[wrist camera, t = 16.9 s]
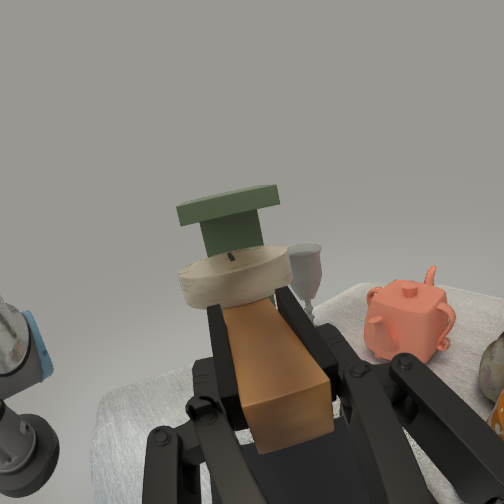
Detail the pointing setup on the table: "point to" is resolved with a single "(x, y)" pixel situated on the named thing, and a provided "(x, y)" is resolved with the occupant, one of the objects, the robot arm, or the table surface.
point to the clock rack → (230, 218)
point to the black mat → (310, 471)
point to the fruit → (493, 370)
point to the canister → (496, 420)
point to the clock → (263, 345)
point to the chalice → (305, 273)
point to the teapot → (408, 319)
